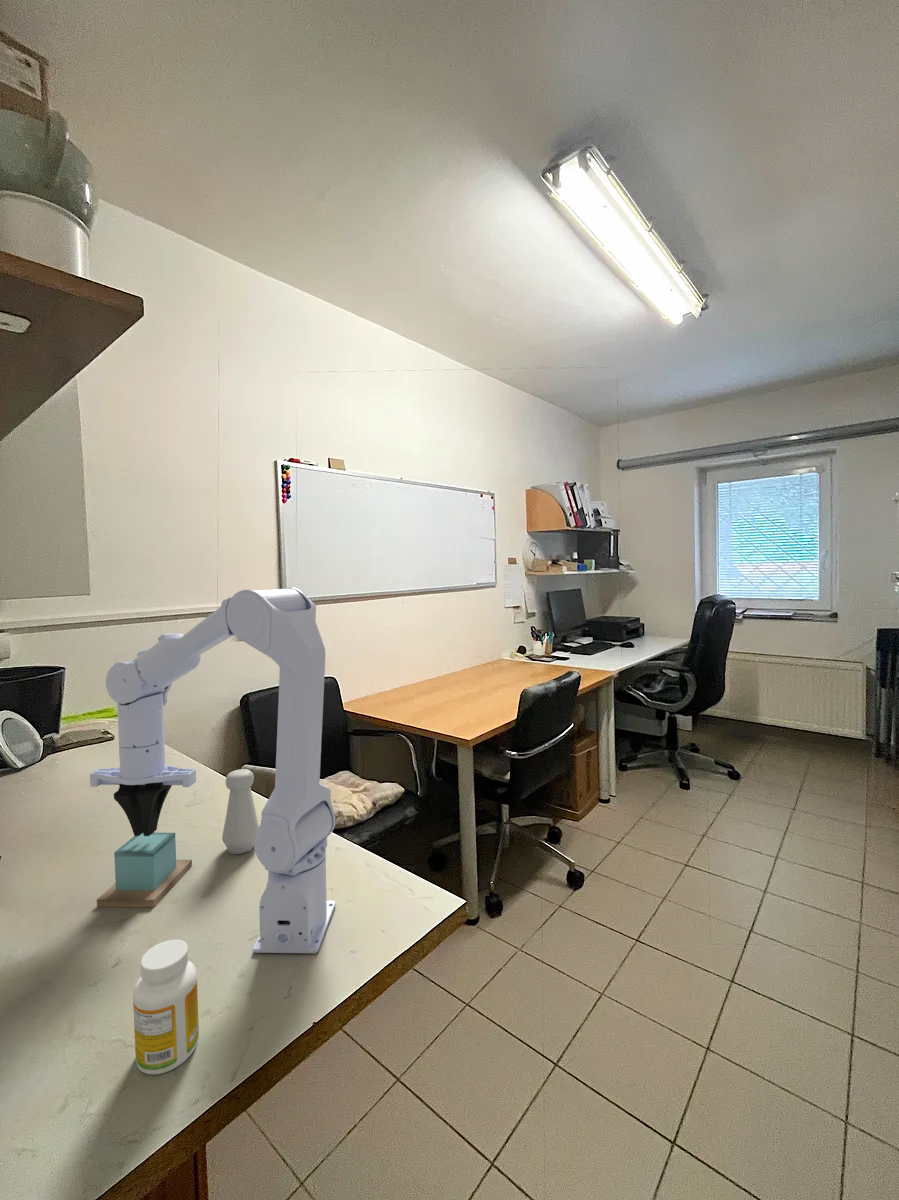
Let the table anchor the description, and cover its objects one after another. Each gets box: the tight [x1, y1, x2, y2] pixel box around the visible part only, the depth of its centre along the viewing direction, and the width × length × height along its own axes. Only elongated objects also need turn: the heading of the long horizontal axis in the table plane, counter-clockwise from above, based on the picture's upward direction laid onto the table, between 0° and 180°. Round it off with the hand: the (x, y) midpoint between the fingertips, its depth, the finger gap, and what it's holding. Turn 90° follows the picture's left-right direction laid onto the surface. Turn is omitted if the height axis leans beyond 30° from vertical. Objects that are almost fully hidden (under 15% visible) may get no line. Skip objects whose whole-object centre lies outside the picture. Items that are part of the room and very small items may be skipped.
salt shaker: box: [221, 768, 260, 855], centre depth 86 cm, size 6×6×13 cm
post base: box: [96, 859, 193, 908], centre depth 76 cm, size 10×8×6 cm
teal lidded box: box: [113, 832, 177, 890], centre depth 76 cm, size 6×6×6 cm
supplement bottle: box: [132, 939, 200, 1076], centre depth 50 cm, size 5×5×10 cm
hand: (145, 832), depth 76 cm, fingers closed
